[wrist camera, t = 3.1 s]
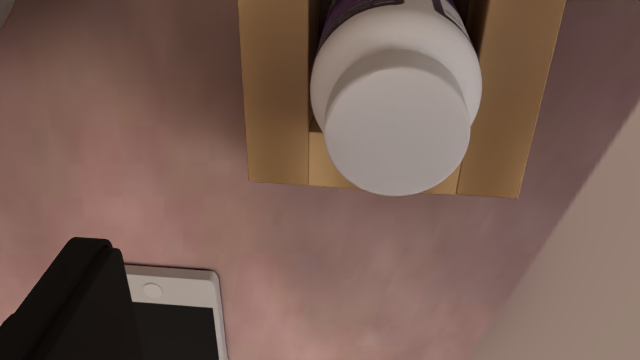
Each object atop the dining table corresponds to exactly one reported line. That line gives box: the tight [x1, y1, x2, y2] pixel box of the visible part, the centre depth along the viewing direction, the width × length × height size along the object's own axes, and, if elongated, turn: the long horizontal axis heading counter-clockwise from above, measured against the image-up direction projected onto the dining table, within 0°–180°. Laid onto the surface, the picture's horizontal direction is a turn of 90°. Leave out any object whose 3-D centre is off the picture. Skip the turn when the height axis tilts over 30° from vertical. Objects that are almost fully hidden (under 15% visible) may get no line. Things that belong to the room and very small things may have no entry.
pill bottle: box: [310, 0, 482, 196], centre depth 19 cm, size 5×5×10 cm
